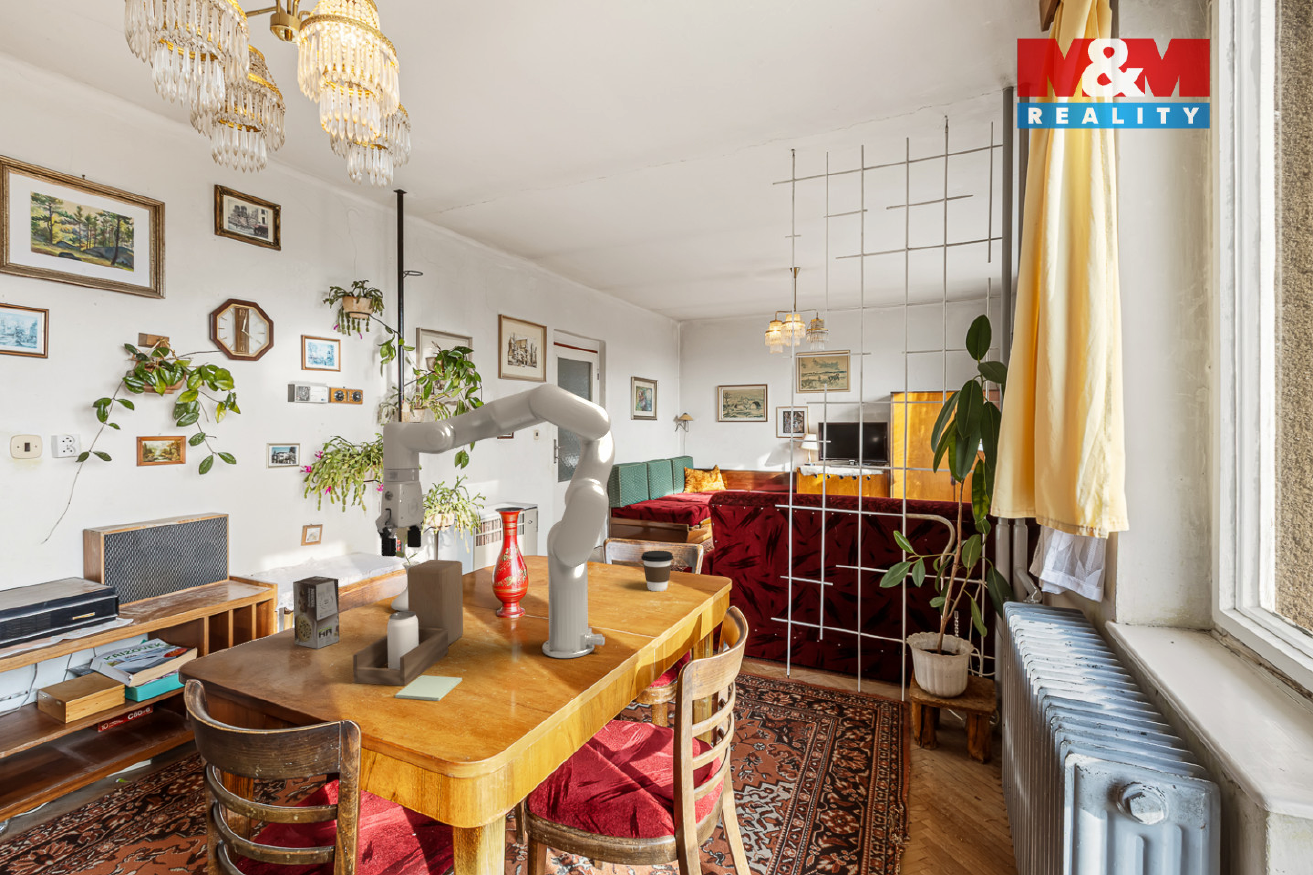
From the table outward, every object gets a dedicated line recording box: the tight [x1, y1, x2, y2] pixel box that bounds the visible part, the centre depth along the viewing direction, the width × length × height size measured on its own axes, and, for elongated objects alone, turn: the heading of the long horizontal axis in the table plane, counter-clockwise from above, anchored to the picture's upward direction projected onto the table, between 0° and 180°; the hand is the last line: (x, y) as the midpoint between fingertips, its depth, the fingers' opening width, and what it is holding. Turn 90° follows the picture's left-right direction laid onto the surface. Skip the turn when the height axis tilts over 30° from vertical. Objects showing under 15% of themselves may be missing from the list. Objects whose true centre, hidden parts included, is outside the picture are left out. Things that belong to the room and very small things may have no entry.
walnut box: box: [352, 627, 449, 687], centre depth 134 cm, size 12×18×6 cm, turn 171°
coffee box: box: [292, 575, 340, 650], centre depth 150 cm, size 9×6×16 cm
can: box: [386, 611, 419, 669], centre depth 134 cm, size 6×6×12 cm
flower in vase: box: [390, 527, 421, 612], centre depth 179 cm, size 13×11×25 cm
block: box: [408, 559, 464, 646], centre depth 150 cm, size 10×10×20 cm
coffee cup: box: [640, 550, 674, 592], centre depth 198 cm, size 11×11×12 cm
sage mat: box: [394, 674, 463, 702], centre depth 123 cm, size 10×10×1 cm
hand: (402, 551), depth 134 cm, fingers open, 9 cm apart
